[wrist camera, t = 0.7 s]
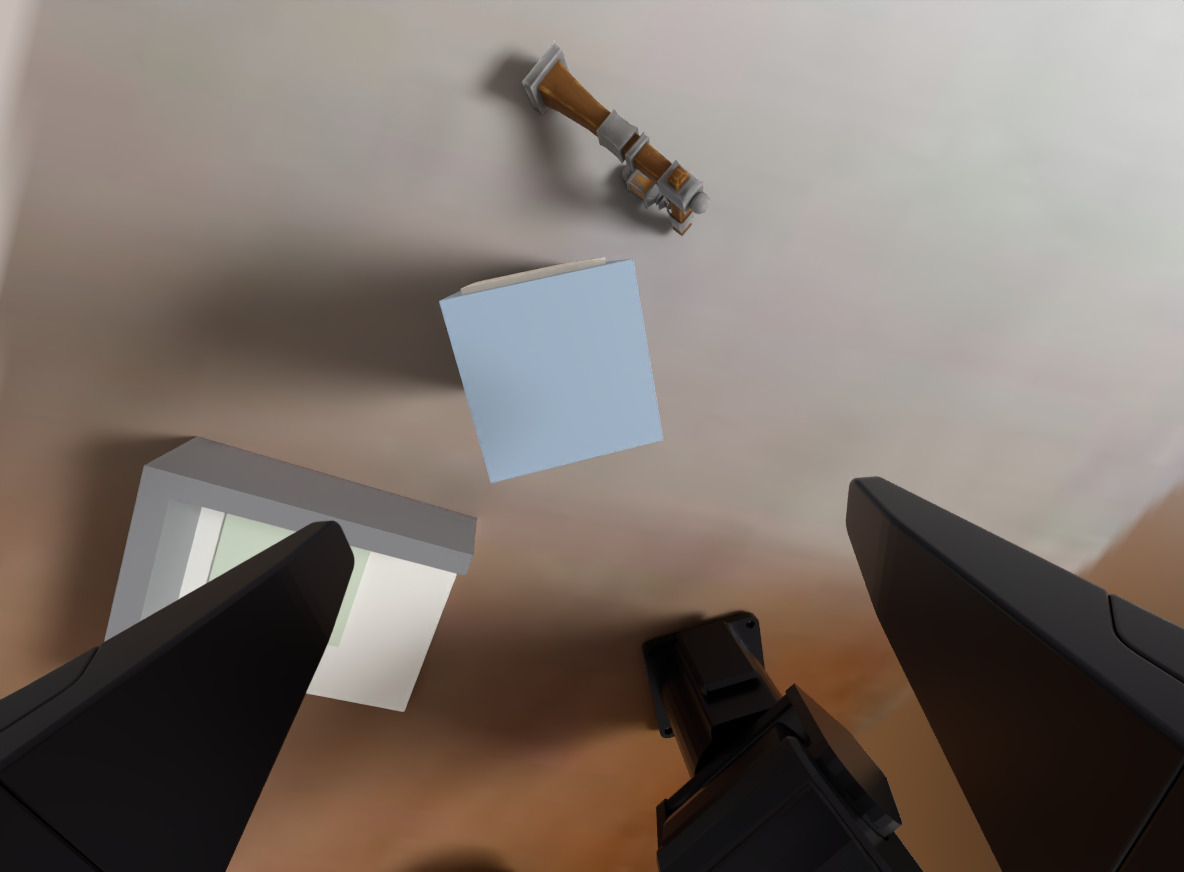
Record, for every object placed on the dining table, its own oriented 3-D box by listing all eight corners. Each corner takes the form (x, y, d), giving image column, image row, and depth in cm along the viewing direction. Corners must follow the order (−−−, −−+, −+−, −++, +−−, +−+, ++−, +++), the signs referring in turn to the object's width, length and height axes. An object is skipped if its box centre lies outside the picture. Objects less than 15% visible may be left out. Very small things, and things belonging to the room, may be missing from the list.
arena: (476, 518, 25) (473, 555, 22) (405, 704, 28) (393, 763, 24) (196, 436, 22) (144, 465, 19) (143, 653, 25) (87, 712, 21)
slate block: (593, 368, 24) (663, 439, 14) (494, 390, 24) (490, 483, 13) (571, 261, 23) (632, 252, 12) (466, 283, 22) (436, 293, 12)
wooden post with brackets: (688, 260, 23) (690, 220, 18) (550, 143, 24) (520, 78, 19) (717, 226, 22) (727, 177, 18) (577, 110, 23) (553, 35, 19)
